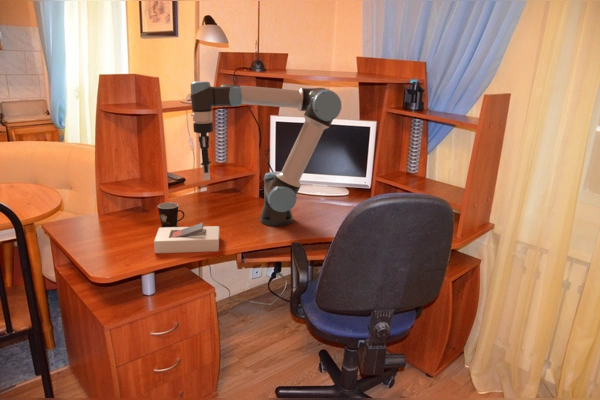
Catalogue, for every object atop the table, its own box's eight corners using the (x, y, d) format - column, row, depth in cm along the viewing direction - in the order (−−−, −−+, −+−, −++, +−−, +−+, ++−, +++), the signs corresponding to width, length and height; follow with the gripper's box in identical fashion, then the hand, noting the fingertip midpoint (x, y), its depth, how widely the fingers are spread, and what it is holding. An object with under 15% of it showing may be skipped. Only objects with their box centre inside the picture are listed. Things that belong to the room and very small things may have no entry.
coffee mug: (155, 226, 195) (154, 205, 191) (173, 222, 200) (172, 201, 197) (168, 234, 187) (167, 212, 184) (186, 229, 193) (185, 207, 189)
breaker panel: (219, 237, 186) (219, 226, 184) (218, 251, 172) (218, 239, 171) (160, 238, 182) (159, 227, 180) (154, 253, 169) (153, 241, 167)
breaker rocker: (203, 225, 179) (202, 222, 179) (202, 231, 173) (201, 228, 172) (173, 235, 178) (172, 232, 178) (171, 241, 172) (170, 238, 172)
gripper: (193, 120, 179) (198, 176, 187) (192, 124, 167) (197, 184, 175) (212, 119, 181) (216, 175, 188) (212, 124, 169) (216, 183, 176)
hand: (206, 179), depth 181 cm, fingers closed
